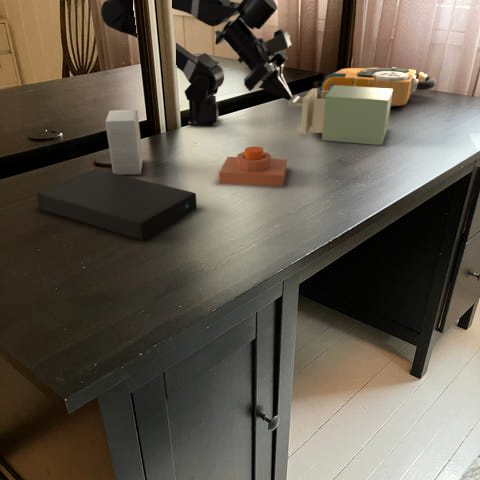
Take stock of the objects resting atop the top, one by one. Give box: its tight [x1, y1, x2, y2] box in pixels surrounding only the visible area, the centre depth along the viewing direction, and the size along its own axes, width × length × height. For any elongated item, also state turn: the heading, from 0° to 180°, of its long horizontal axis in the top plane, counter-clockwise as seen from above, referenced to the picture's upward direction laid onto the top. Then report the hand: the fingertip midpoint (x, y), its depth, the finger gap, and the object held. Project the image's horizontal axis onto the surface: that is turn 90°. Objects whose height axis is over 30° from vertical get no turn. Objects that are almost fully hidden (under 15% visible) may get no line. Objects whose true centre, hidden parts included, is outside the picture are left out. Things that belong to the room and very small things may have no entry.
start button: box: [244, 146, 265, 160], centre depth 102 cm, size 4×4×2 cm
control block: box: [218, 151, 288, 187], centre depth 103 cm, size 12×9×4 cm
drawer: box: [287, 87, 330, 135], centre depth 125 cm, size 16×10×8 cm, turn 72°
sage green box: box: [321, 85, 393, 146], centre depth 123 cm, size 14×12×10 cm
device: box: [320, 66, 437, 108], centre depth 152 cm, size 23×8×30 cm
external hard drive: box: [36, 168, 198, 242], centre depth 91 cm, size 14×23×3 cm, turn 58°
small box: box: [104, 109, 144, 176], centre depth 106 cm, size 8×6×10 cm
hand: (290, 98), depth 126 cm, fingers closed
